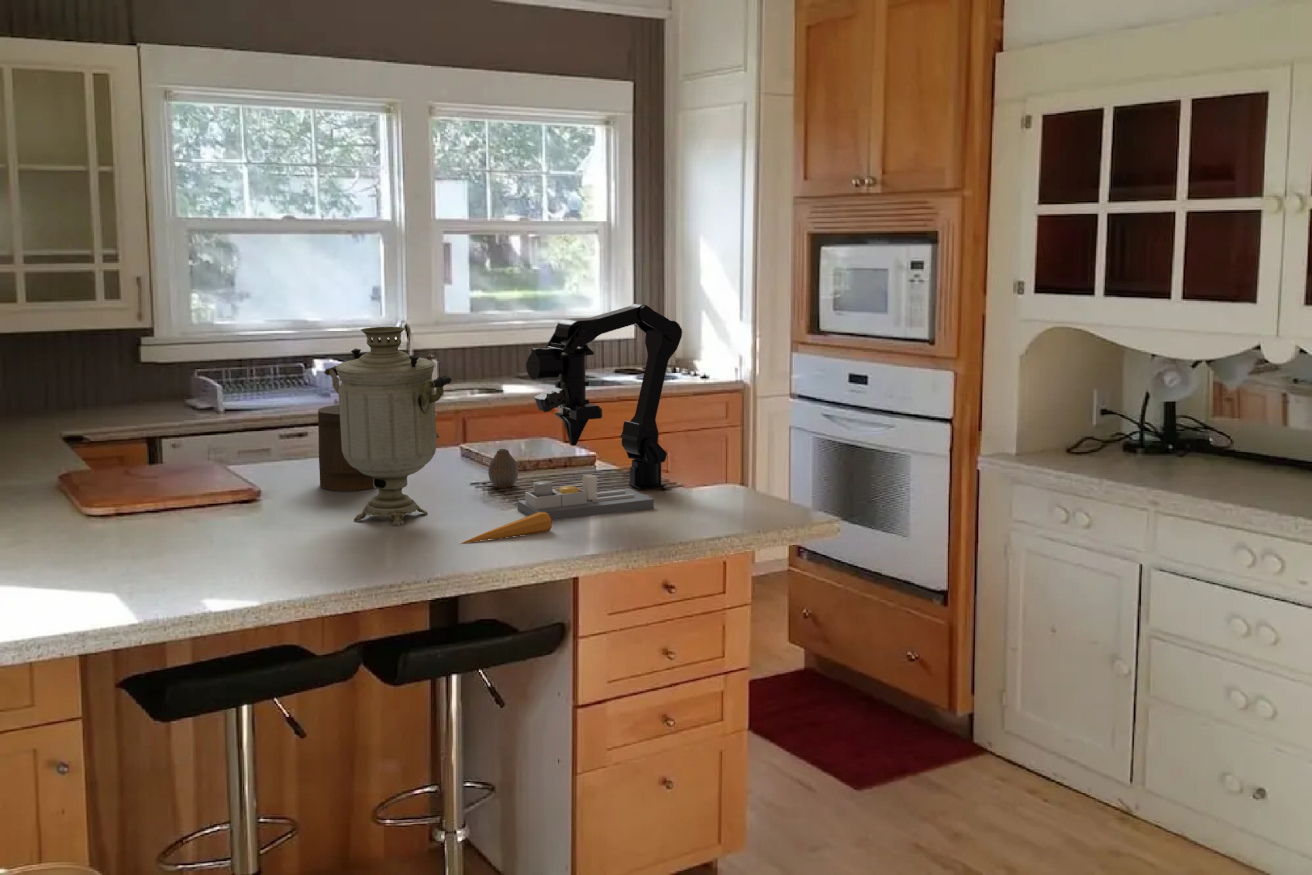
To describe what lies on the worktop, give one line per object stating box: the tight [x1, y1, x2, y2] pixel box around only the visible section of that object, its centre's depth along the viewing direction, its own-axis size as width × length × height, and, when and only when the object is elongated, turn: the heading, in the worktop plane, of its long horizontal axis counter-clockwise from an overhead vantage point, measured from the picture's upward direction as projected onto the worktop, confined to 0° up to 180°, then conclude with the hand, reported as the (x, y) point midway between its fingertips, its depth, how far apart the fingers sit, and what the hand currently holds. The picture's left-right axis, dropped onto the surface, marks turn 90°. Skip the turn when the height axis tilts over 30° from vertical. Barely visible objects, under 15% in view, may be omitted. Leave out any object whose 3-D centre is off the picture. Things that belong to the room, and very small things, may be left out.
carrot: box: [461, 512, 553, 544], centre depth 249 cm, size 20×4×4 cm, turn 122°
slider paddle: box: [582, 473, 598, 500], centre depth 272 cm, size 2×3×5 cm, turn 28°
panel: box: [517, 487, 655, 521], centre depth 272 cm, size 27×12×4 cm, turn 118°
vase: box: [487, 448, 519, 489], centre depth 293 cm, size 7×7×9 cm
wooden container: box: [317, 404, 376, 492], centre depth 293 cm, size 15×15×22 cm
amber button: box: [559, 485, 579, 494], centre depth 270 cm, size 4×4×3 cm
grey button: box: [532, 480, 553, 497], centre depth 267 cm, size 4×4×3 cm
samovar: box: [323, 326, 452, 527], centre depth 262 cm, size 30×26×40 cm
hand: (573, 445), depth 281 cm, fingers closed
